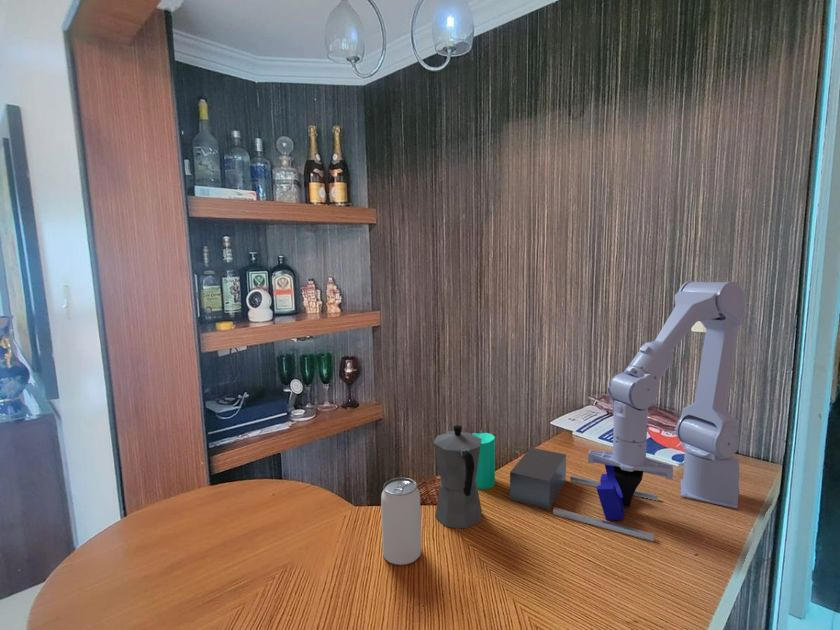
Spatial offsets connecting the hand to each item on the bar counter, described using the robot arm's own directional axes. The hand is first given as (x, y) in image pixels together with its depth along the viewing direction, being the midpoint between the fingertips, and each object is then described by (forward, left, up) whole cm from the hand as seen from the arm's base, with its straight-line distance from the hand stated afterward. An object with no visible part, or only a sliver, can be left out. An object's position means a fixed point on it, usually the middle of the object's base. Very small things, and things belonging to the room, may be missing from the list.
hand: (627, 504), depth 83 cm
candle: (+29, +3, -2) cm, 29 cm away
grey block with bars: (+9, 0, -1) cm, 9 cm away
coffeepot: (+27, +18, -2) cm, 33 cm away
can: (+31, +32, -2) cm, 45 cm away
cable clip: (+2, -1, -1) cm, 3 cm away
